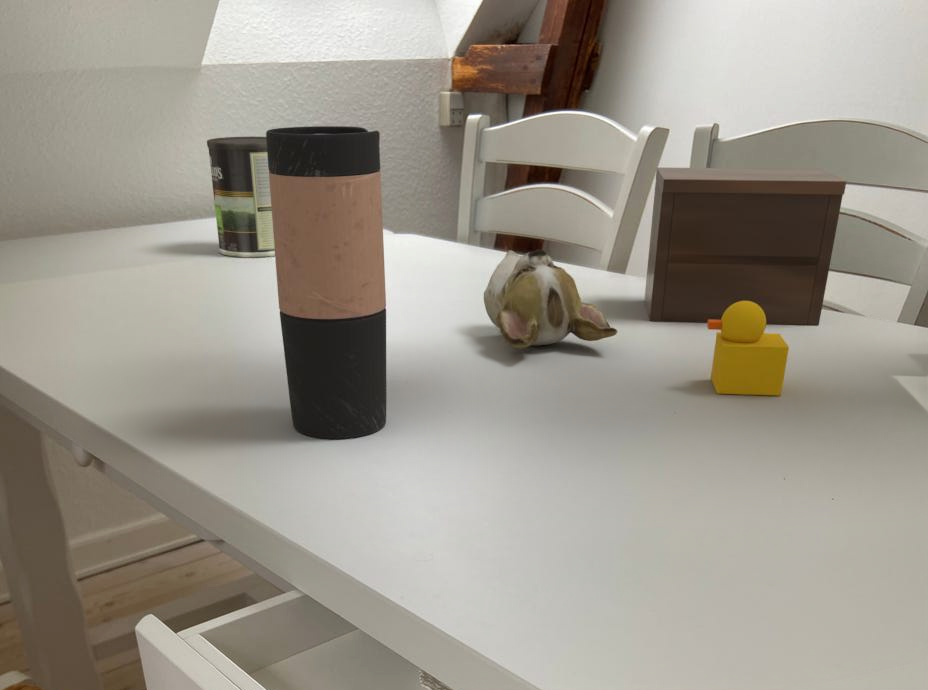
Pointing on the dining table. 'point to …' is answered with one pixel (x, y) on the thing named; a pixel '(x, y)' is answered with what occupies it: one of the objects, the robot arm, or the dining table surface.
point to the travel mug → (330, 276)
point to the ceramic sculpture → (539, 303)
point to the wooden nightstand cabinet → (741, 242)
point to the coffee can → (242, 196)
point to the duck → (747, 353)
